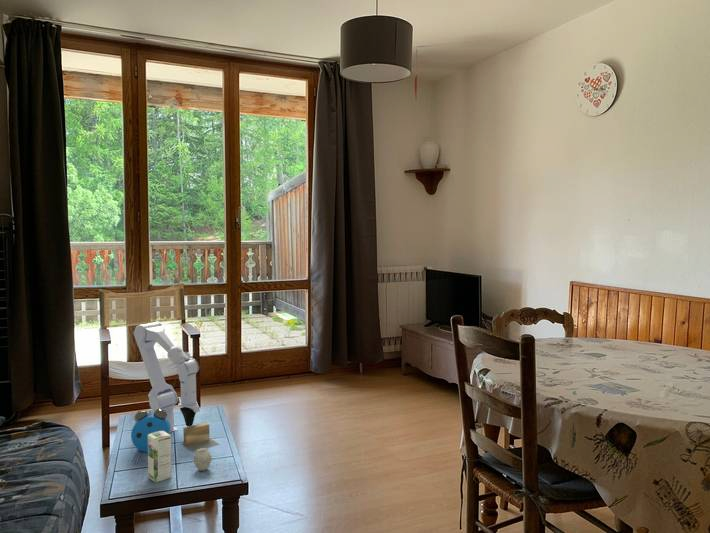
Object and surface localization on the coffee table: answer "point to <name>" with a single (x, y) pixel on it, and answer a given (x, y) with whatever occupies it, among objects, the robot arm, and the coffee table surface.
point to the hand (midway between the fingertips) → (189, 425)
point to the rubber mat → (201, 445)
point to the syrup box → (159, 456)
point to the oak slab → (196, 433)
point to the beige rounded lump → (202, 459)
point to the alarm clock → (148, 427)
